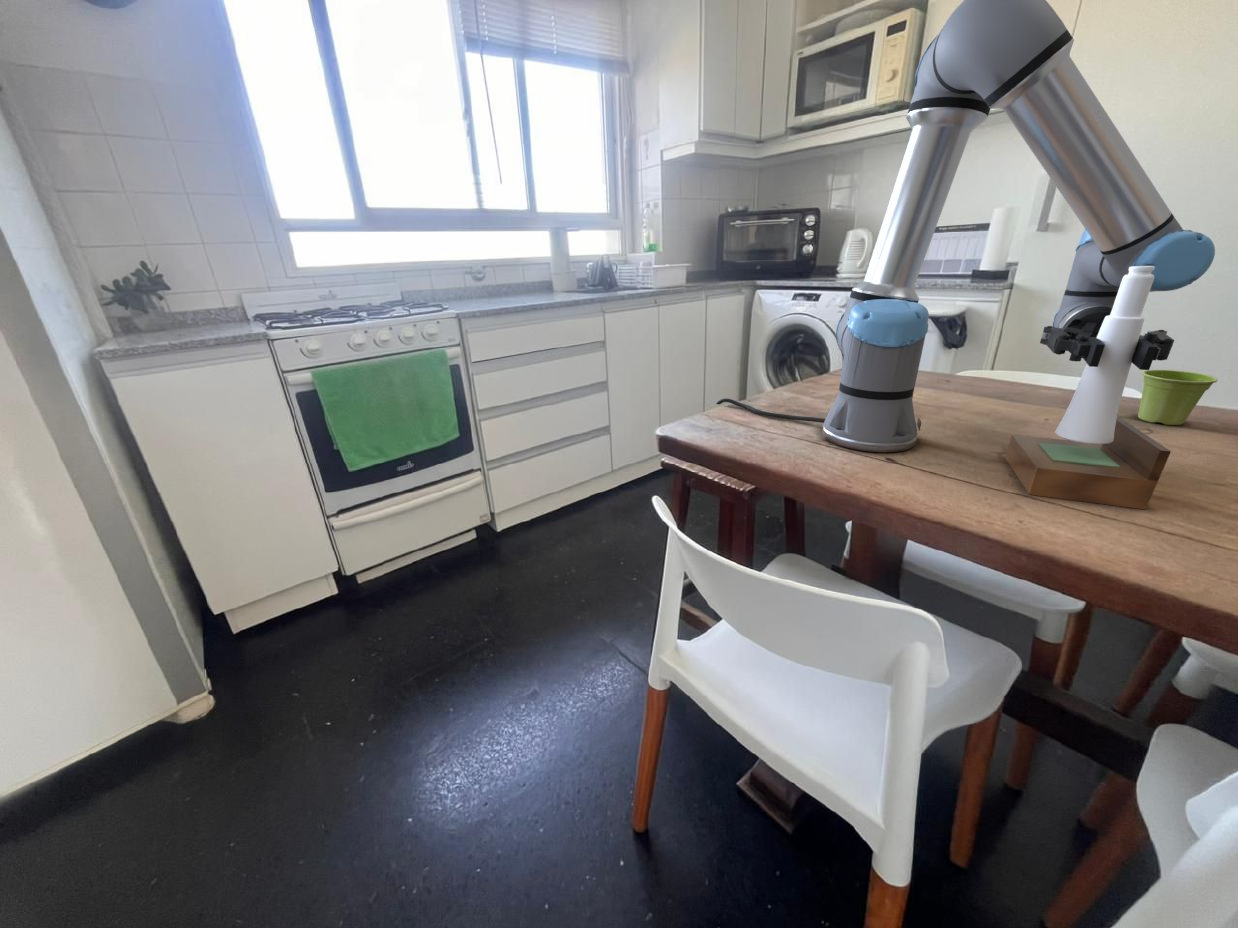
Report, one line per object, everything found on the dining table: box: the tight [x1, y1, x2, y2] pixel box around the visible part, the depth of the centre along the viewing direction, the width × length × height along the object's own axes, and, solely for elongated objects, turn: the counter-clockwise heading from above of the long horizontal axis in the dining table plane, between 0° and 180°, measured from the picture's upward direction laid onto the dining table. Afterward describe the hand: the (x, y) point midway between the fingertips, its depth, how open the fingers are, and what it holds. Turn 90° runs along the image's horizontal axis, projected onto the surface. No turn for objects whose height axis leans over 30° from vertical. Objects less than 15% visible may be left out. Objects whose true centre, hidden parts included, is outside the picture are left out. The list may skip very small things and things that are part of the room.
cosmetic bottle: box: [1054, 266, 1155, 444], centre depth 64 cm, size 6×6×22 cm
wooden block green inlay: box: [1004, 417, 1172, 510], centre depth 69 cm, size 12×14×8 cm
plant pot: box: [1137, 369, 1219, 426], centre depth 91 cm, size 9×9×9 cm
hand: (1122, 357), depth 59 cm, fingers closed on cosmetic bottle, 4 cm apart
